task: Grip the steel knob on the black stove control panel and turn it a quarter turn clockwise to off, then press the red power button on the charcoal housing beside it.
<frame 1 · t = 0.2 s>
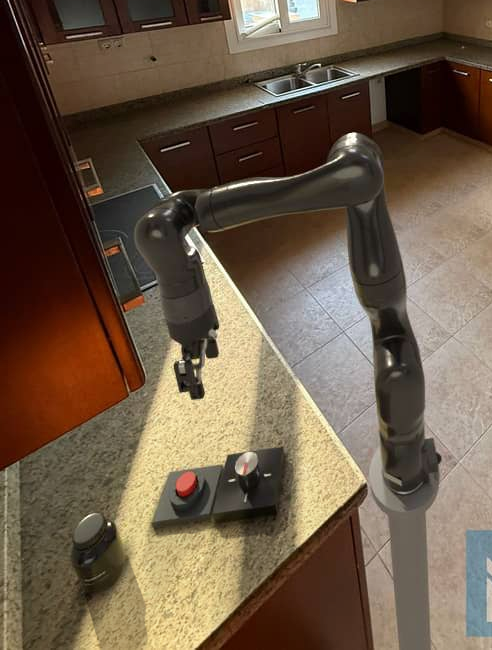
hand: (206, 375, 79), 32 cm above the counter, tool pointing down, fingers open, 8 cm apart
supplement bottle: (106, 571, 78), on the counter
stove knob: (248, 470, 88), point 5 cm above the counter, hinge at 90.0°
power button: (186, 484, 87), point 4 cm above the counter, slide at 0.2 cm
button housing: (190, 497, 88), on the counter
stove panel: (252, 487, 90), on the counter
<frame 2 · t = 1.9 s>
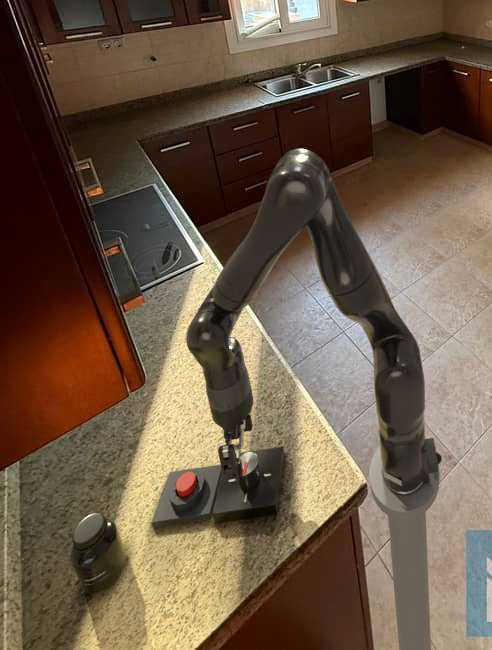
hand: (242, 450, 86), 11 cm above the counter, tool pointing down, fingers open, 8 cm apart
nothing on the counter moved.
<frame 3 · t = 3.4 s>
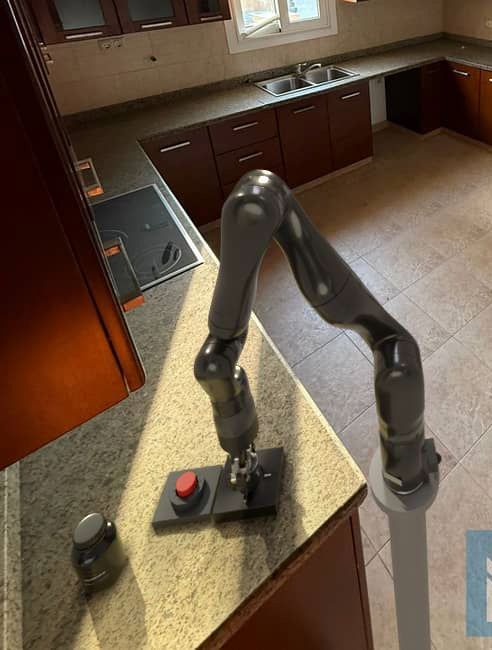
hand: (249, 476, 89), 4 cm above the counter, tool pointing down, fingers closed on stove knob, 4 cm apart
stove knob: (248, 470, 88), point 5 cm above the counter, hinge at 90.3°, touching gripper
everything else where it was.
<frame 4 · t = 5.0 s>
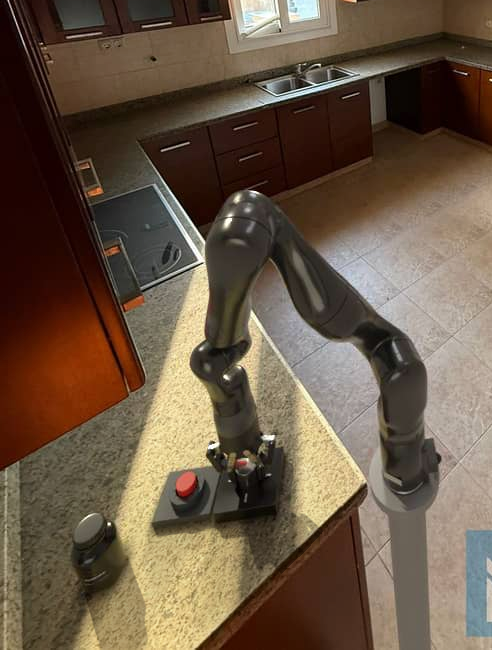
hand: (249, 477, 88), 4 cm above the counter, tool pointing down, fingers closed on stove knob, 4 cm apart
stove knob: (248, 470, 88), point 5 cm above the counter, hinge at -4.0°, touching gripper
everything else where it was.
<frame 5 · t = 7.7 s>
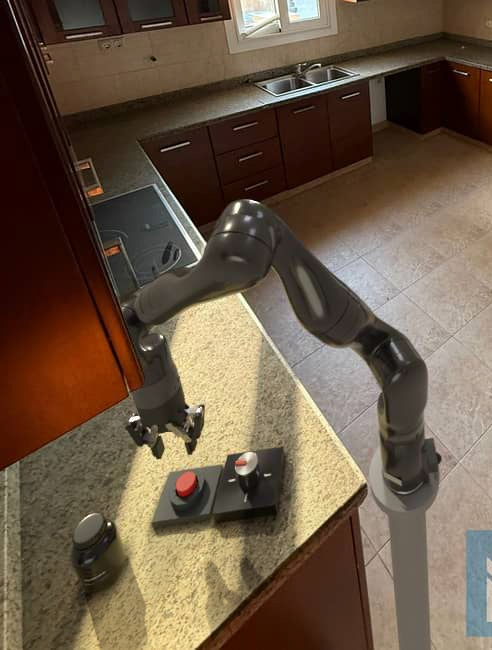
hand: (176, 452, 84), 13 cm above the counter, tool pointing down, fingers open, 5 cm apart
stove knob: (248, 470, 88), point 5 cm above the counter, hinge at -4.0°
everything else where it was.
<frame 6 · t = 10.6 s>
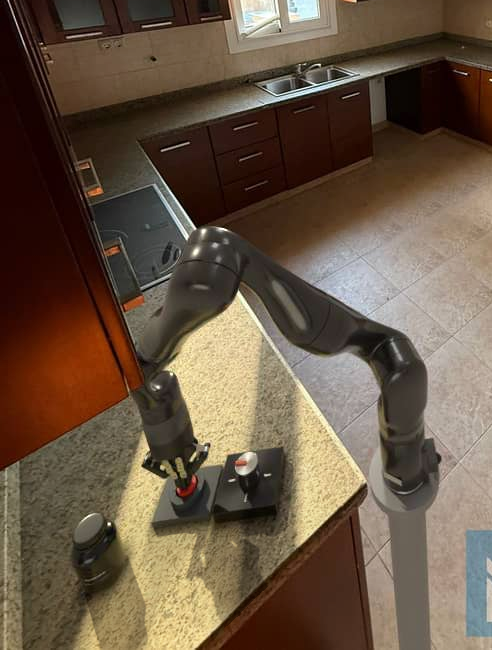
hand: (185, 485, 87), 4 cm above the counter, tool pointing down, fingers closed
power button: (187, 487, 87), point 3 cm above the counter, slide at -0.7 cm, touching gripper
everything else where it was.
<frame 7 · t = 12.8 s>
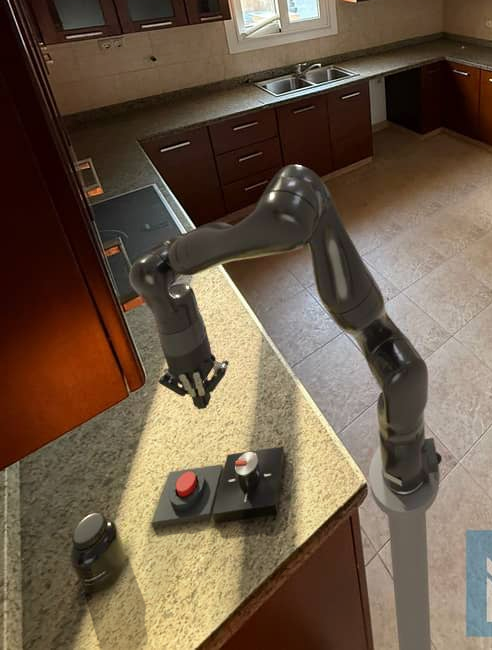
hand: (203, 404, 86), 20 cm above the counter, tool pointing down, fingers closed
power button: (186, 484, 87), point 4 cm above the counter, slide at 0.2 cm
everything else where it was.
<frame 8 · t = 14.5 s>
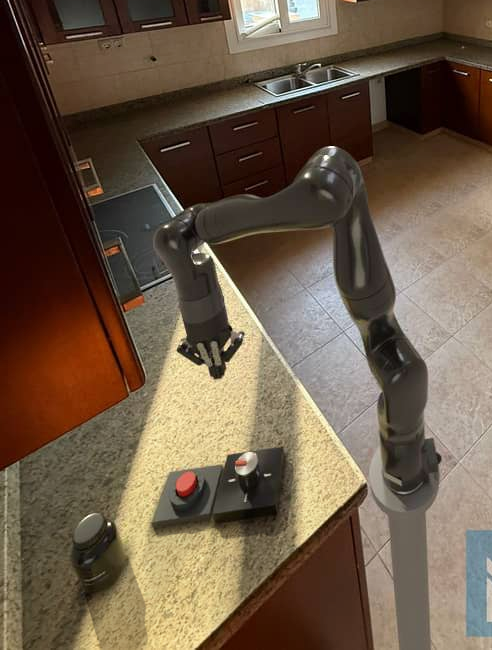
hand: (219, 375, 87), 25 cm above the counter, tool pointing down, fingers closed
nothing on the counter moved.
at the end: stove knob at -4° (first picture: +90°); power button pushed in 1.1 cm at the most during the clip, back to 0.2 cm at the end; power button slide at 0.2 cm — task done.
